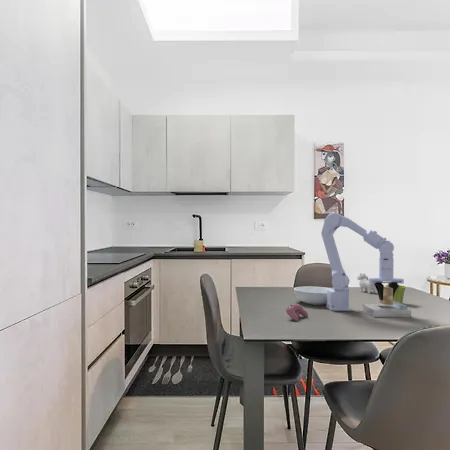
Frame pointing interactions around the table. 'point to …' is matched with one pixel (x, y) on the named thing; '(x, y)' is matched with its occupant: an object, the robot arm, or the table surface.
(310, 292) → the serving bowl
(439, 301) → the table surface
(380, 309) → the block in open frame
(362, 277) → the dog figurine
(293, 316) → the video game controller
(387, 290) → the tan tall block
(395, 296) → the plant pot
